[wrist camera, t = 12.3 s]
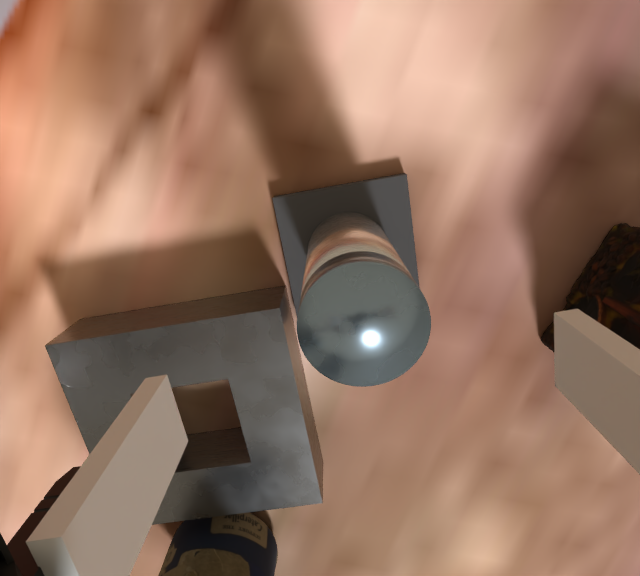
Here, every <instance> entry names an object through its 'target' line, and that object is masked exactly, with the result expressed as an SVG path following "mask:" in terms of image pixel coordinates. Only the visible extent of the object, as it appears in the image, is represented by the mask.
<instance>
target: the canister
mask: <svg viewBox="0 0 640 576" xmlns="http://www.w3.org/2000/svg"><path fill="white" fill-rule="evenodd" d="M277 556H278V551H277V544H276V541H275V538H274V536H273V534H272V532H271V530H270V529H269V528H268V526H267V525H266V524H265V523H264V522H263V521H262V520H261V519H259V518H258V517H256V516H255V515H253V514H252V513H250V512H248V513H240V514H232V515H224V516H216V517H208V518H201V519H193V520H185V521H184V522H183V523H182V524H181V525H180V526H179V528H178V529H177V531H176V533H175V535H174V537H173V539H172V542H171V544H170V547H169V549H168V552H167V554H166V557H165V560H164V563H163V565H162V568H161V571H160V573H159V576H274V572H275V567H276V563H277Z"/></svg>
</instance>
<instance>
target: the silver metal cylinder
mask: <svg viewBox="0 0 640 576" xmlns="http://www.w3.org/2000/svg"><path fill="white" fill-rule="evenodd" d="M430 329H431V316H430V311H429V307H428V304H427V301H426V299H425V297H424V295H423V293H422V292H421V290H420V289H419V287H418V285H417V284H416V282H415V281H414V279H413V278H412V276H411V274H410V273H409V271H408V270H407V268H406V266H405V265H404V263H403V262H402V260H401V258H400V257H399V255H398V254H397V252H396V250H395V249H394V247H393V246H392V244H391V242H390V241H389V239H388V238H387V236H386V235H385V233H384V231H383V230H382V228H381V227H380V226H379V225H378V224H377V223H376V222H375V221H374V220H373V219H371V218H369V217H368V216H365V215H363V214H360V213H355V212H343V213H338V214H335V215H332V216H330V217H329V218H327V219H325V220H324V221H323V222H321V223H320V224H319V225H318V227H317V228H316V229H315V230H314V232H313V234H312V236H311V238H310V241H309V246H308V252H307V259H306V266H305V272H304V279H303V286H302V292H301V299H300V306H299V312H298V319H297V334H298V340H299V343H300V346H301V349H302V351H303V353H304V355H305V356H306V358H307V360H308V361H309V362H310V363H311V364H312V366H313V367H314V368H315V369H317V370H318V371H319V372H320V373H322V374H323V375H324V376H326V377H328V378H330V379H331V380H334V381H336V382H339V383H342V384H346V385H351V386H374V385H379V384H383V383H386V382H389V381H391V380H393V379H395V378H397V377H399V376H400V375H402V374H404V373H405V372H406V371H407V370H409V369H410V368H411V367H412V366H413V365H414V364H415V363H416V362H417V360H418V359H419V358H420V356H421V355H422V353H423V351H424V350H425V348H426V345H427V343H428V339H429V336H430Z"/></svg>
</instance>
